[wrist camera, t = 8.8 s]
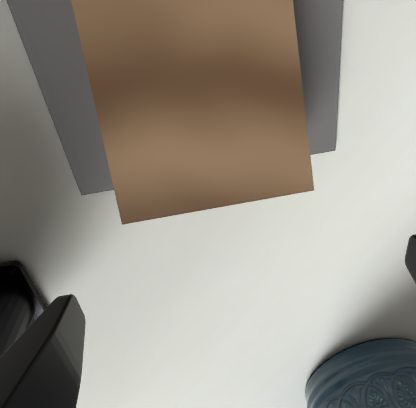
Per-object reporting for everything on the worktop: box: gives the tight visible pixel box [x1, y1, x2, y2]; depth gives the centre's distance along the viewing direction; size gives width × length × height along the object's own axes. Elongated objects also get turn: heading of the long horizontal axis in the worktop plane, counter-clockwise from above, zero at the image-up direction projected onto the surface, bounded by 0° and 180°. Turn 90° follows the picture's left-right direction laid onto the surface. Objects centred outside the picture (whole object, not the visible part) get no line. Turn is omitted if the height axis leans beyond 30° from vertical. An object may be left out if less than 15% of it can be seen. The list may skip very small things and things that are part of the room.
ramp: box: [71, 0, 314, 224], centre depth 16 cm, size 10×9×5 cm
